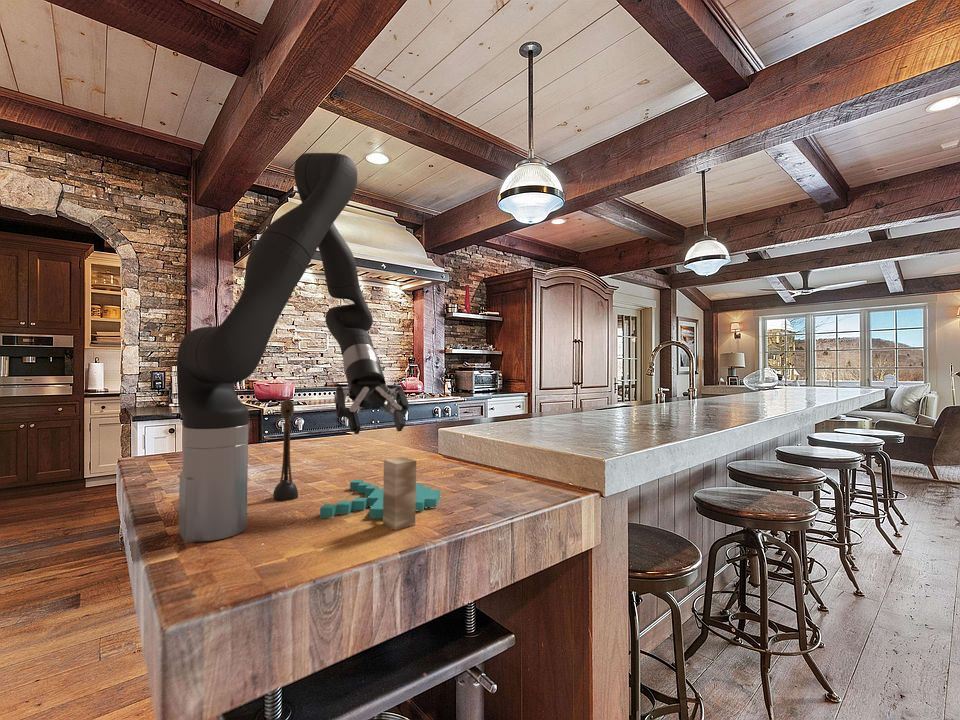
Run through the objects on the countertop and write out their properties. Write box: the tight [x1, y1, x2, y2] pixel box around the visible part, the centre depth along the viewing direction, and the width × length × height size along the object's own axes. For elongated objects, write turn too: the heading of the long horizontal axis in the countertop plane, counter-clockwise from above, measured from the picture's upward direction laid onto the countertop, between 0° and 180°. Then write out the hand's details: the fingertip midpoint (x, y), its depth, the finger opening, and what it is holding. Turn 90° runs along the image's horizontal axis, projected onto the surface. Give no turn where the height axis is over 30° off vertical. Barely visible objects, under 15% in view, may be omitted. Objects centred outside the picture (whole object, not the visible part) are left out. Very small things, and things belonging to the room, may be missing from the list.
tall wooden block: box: [382, 456, 417, 531], centre depth 81 cm, size 4×6×11 cm, turn 41°
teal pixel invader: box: [319, 479, 441, 520], centre depth 92 cm, size 20×2×20 cm
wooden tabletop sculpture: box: [272, 399, 299, 502], centre depth 94 cm, size 6×5×20 cm
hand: (379, 430), depth 89 cm, fingers open, 8 cm apart
